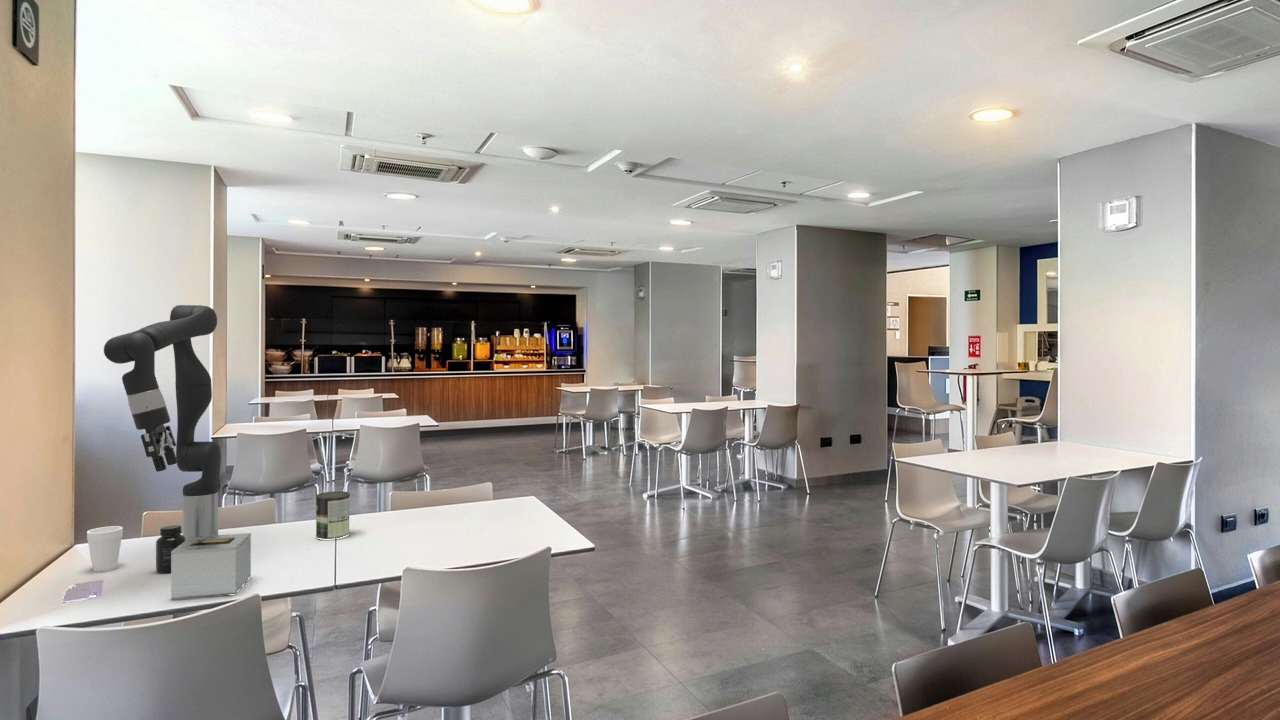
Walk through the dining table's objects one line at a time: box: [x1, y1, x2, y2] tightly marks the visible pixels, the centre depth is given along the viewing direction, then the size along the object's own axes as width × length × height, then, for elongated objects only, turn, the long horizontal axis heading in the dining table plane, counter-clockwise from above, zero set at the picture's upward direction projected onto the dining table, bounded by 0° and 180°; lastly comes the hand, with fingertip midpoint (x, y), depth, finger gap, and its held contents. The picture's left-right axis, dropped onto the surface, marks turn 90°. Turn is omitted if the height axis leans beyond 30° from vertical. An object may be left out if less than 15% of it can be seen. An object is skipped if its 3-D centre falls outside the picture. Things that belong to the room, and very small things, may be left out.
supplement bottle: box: [155, 525, 185, 574], centre depth 189 cm, size 7×7×12 cm
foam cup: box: [86, 525, 124, 573], centre depth 190 cm, size 8×8×11 cm
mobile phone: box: [62, 579, 105, 601], centre depth 172 cm, size 8×1×15 cm
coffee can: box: [315, 490, 351, 539], centre depth 225 cm, size 10×10×14 cm
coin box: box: [170, 532, 252, 601], centre depth 175 cm, size 14×14×12 cm
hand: (167, 467), depth 180 cm, fingers open, 8 cm apart
